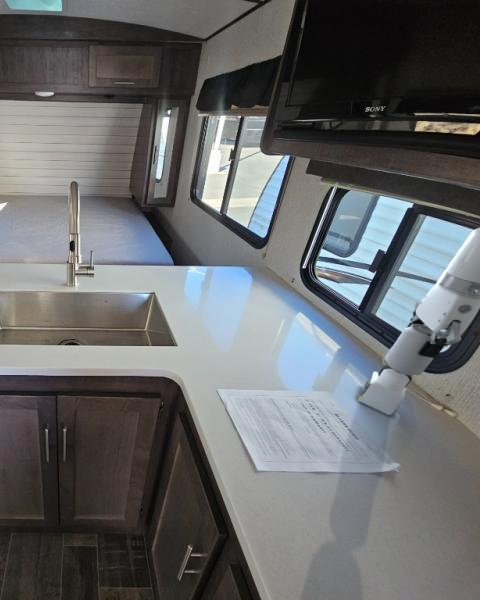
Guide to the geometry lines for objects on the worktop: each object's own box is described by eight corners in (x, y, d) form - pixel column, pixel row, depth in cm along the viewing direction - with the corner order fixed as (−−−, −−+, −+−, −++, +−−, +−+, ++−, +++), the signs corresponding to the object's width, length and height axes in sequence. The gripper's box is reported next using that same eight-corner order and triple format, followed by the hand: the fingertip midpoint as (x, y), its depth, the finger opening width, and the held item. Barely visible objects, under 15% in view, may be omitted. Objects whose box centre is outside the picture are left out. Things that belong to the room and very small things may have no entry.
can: (410, 380, 80) (440, 342, 74) (376, 361, 86) (401, 325, 79) (426, 373, 82) (456, 335, 76) (392, 355, 88) (418, 319, 82)
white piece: (362, 388, 95) (383, 357, 89) (393, 402, 91) (417, 371, 85) (357, 401, 91) (379, 369, 84) (390, 416, 86) (415, 384, 80)
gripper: (514, 306, 63) (457, 372, 72) (460, 271, 77) (418, 330, 86) (466, 298, 65) (416, 363, 74) (422, 266, 79) (384, 324, 88)
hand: (417, 345), depth 80 cm, fingers closed on can, 7 cm apart
